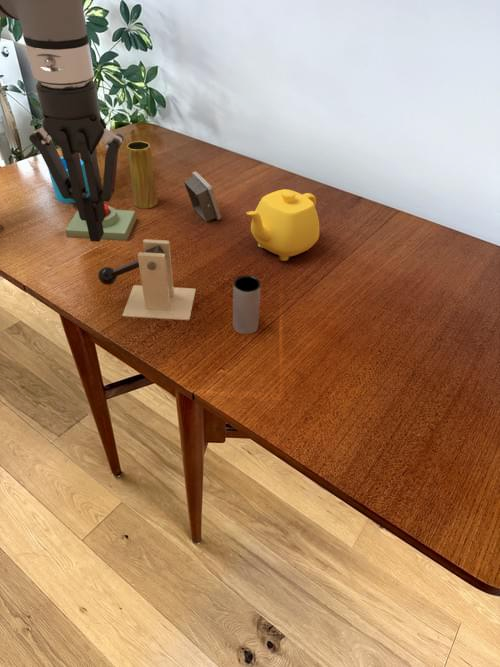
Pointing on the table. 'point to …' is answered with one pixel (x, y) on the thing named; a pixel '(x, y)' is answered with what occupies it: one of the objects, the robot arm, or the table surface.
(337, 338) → the table surface
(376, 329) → the table surface
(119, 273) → the lever
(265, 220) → the teapot
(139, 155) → the vase
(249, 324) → the gray hollow cylinder
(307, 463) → the table surface
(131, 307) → the bracket
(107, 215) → the button
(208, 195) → the electrical switch
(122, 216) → the button base
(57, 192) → the mug
